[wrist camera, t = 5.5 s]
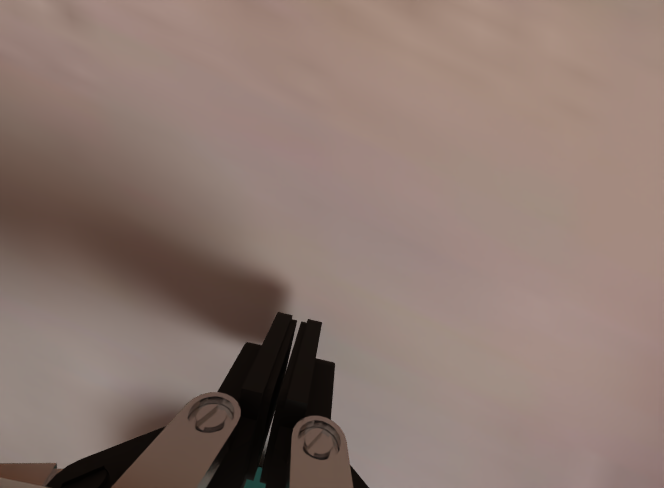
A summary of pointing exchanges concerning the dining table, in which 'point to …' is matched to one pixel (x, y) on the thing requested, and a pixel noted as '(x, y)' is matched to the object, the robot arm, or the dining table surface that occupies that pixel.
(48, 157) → the dining table surface
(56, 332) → the dining table surface
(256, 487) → the ball
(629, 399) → the dining table surface
